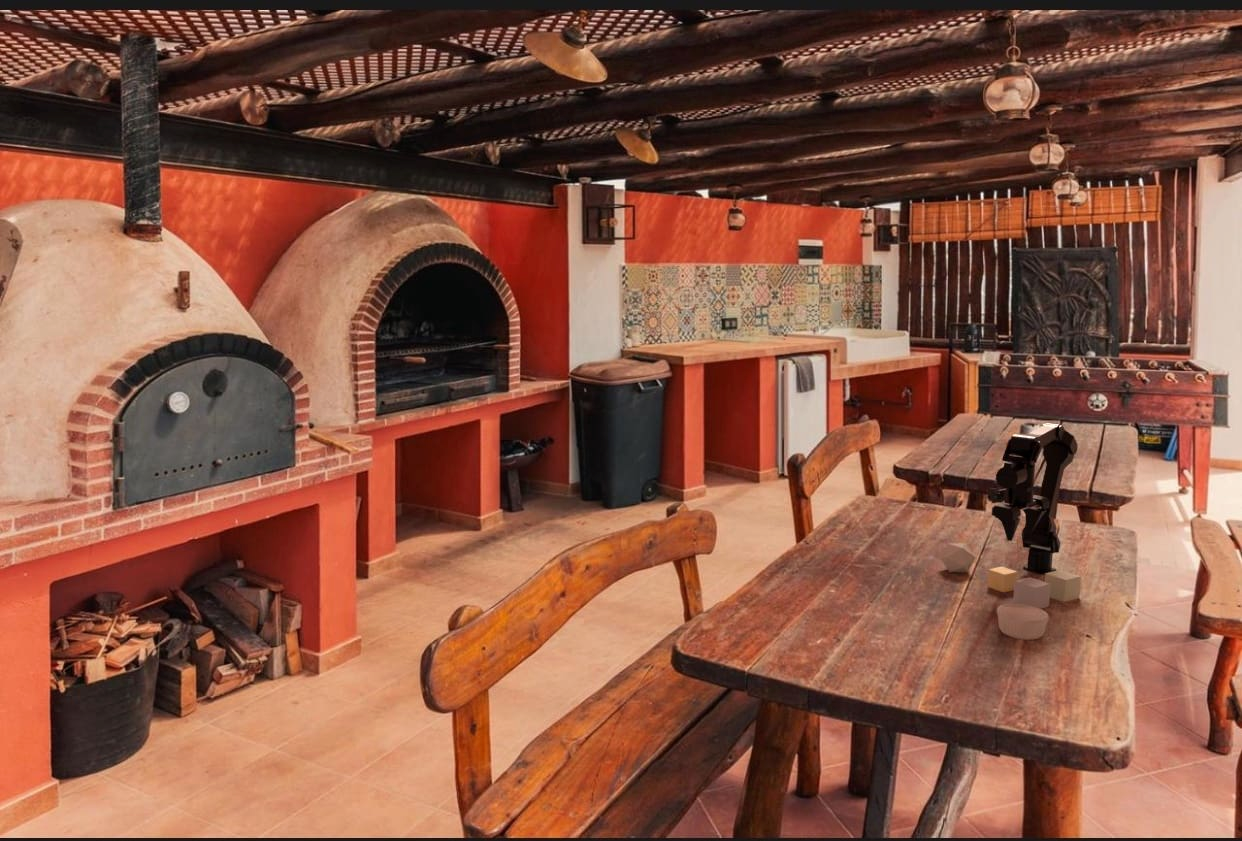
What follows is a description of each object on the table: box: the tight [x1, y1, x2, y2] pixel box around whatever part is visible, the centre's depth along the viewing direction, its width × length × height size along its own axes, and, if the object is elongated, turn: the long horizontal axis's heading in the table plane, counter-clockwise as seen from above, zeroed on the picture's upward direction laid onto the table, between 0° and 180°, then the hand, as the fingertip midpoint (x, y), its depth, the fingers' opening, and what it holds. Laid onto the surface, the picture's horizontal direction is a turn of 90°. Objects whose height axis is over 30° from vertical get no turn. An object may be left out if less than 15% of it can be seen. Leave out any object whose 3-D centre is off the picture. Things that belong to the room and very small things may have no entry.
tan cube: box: [1044, 569, 1082, 603], centre depth 237 cm, size 6×6×6 cm
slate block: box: [1012, 576, 1051, 610], centre depth 231 cm, size 6×6×6 cm
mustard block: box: [987, 566, 1018, 593], centre depth 244 cm, size 5×5×5 cm
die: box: [940, 542, 976, 573], centre depth 258 cm, size 8×9×10 cm
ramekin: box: [996, 603, 1049, 641], centre depth 213 cm, size 11×11×5 cm
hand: (1019, 537), depth 246 cm, fingers open, 9 cm apart
